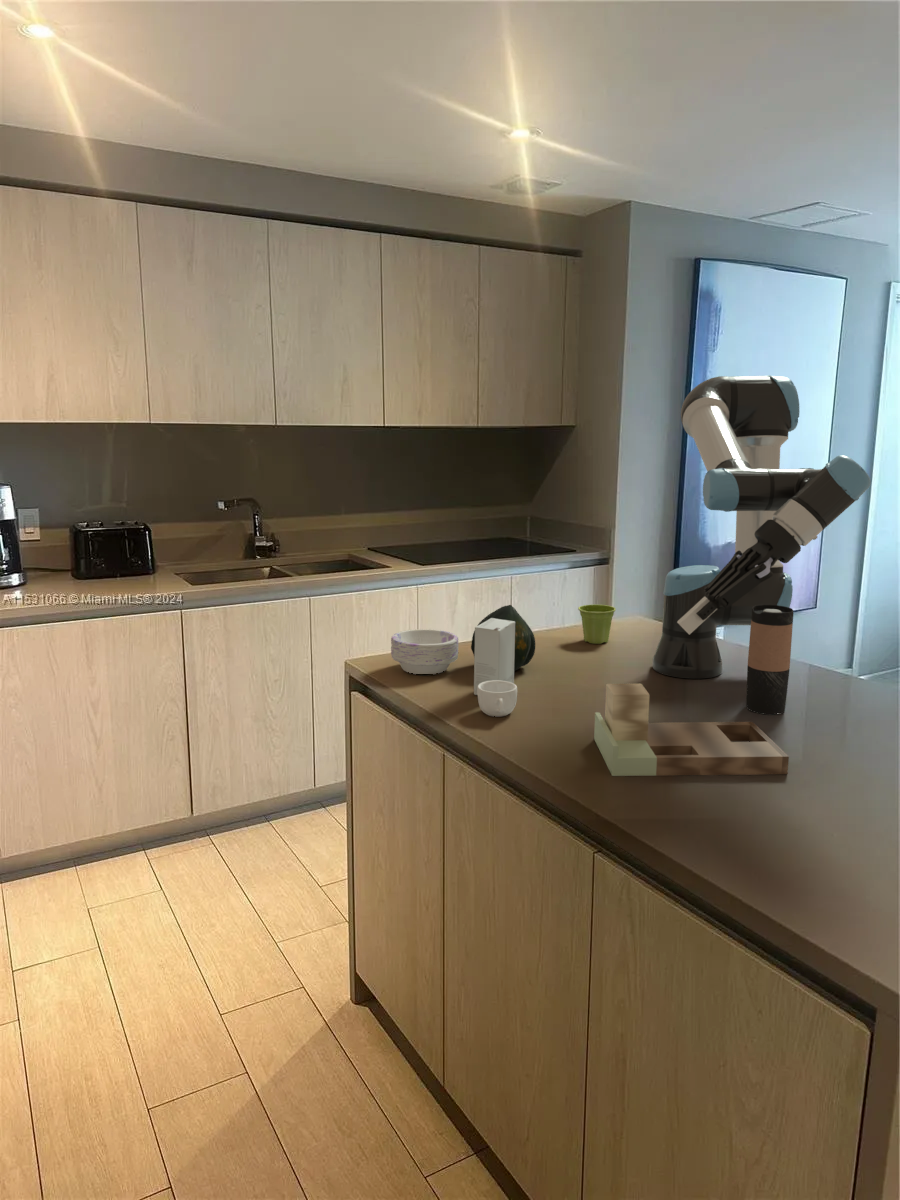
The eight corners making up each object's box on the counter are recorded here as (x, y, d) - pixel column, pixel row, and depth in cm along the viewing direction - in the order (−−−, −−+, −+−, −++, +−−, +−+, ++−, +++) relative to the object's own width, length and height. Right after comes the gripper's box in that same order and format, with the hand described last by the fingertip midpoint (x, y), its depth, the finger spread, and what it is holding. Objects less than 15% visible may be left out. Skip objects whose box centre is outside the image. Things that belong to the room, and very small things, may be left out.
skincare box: (489, 684, 184) (490, 617, 181) (515, 688, 181) (516, 620, 178) (472, 695, 176) (472, 625, 173) (499, 700, 174) (500, 628, 171)
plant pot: (576, 645, 216) (577, 611, 214) (577, 636, 225) (578, 603, 223) (614, 646, 214) (616, 612, 212) (614, 637, 223) (615, 604, 221)
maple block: (639, 727, 149) (641, 683, 147) (647, 740, 143) (649, 694, 142) (604, 727, 149) (606, 683, 147) (611, 740, 143) (613, 694, 142)
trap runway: (751, 737, 152) (752, 721, 152) (787, 774, 137) (788, 756, 136) (633, 738, 152) (634, 722, 151) (656, 775, 136) (656, 757, 136)
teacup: (475, 707, 170) (475, 680, 168) (513, 705, 170) (513, 679, 169) (480, 724, 160) (481, 696, 159) (521, 723, 160) (522, 695, 159)
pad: (633, 738, 152) (634, 712, 151) (656, 775, 136) (657, 745, 135) (594, 739, 152) (595, 712, 151) (612, 775, 136) (613, 746, 135)
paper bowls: (472, 669, 195) (472, 635, 193) (423, 683, 185) (423, 648, 183) (426, 656, 206) (425, 624, 204) (377, 670, 195) (376, 636, 193)
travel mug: (787, 705, 169) (795, 606, 165) (784, 717, 163) (792, 614, 159) (747, 700, 173) (753, 603, 169) (742, 711, 166) (749, 610, 162)
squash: (469, 656, 186) (512, 602, 186) (452, 641, 200) (493, 592, 201) (515, 694, 190) (558, 641, 190) (496, 677, 204) (536, 629, 205)
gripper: (817, 555, 140) (708, 653, 144) (785, 541, 153) (686, 632, 157) (787, 523, 139) (678, 623, 143) (758, 512, 152) (659, 604, 155)
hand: (683, 628), depth 150 cm, fingers closed
